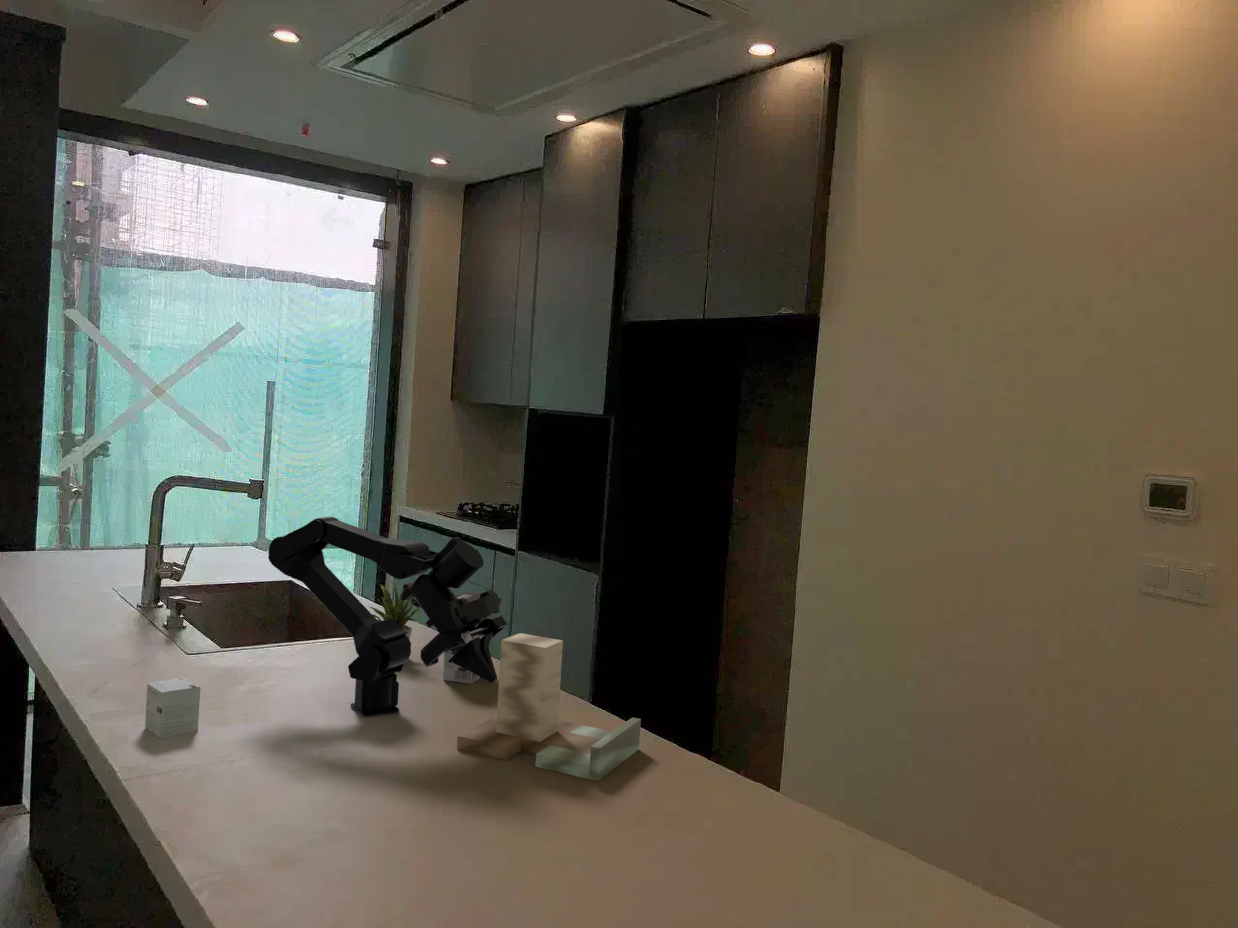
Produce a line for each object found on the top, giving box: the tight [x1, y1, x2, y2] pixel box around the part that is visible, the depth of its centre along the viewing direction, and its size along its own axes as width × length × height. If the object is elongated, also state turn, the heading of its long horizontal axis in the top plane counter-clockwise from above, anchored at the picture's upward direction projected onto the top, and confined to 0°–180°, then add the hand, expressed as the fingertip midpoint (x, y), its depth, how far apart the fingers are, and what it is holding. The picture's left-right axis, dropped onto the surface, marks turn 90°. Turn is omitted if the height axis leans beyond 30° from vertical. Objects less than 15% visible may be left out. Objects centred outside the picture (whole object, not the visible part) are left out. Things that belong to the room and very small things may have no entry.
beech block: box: [496, 632, 564, 742], centre depth 158 cm, size 8×6×15 cm
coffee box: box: [442, 591, 492, 685], centre depth 193 cm, size 9×6×16 cm
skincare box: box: [144, 677, 201, 739], centre depth 154 cm, size 6×6×7 cm
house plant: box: [364, 579, 422, 640], centre depth 204 cm, size 14×14×16 cm
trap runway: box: [456, 715, 642, 782], centre depth 156 cm, size 24×16×5 cm, turn 67°
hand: (494, 680), depth 160 cm, fingers closed
